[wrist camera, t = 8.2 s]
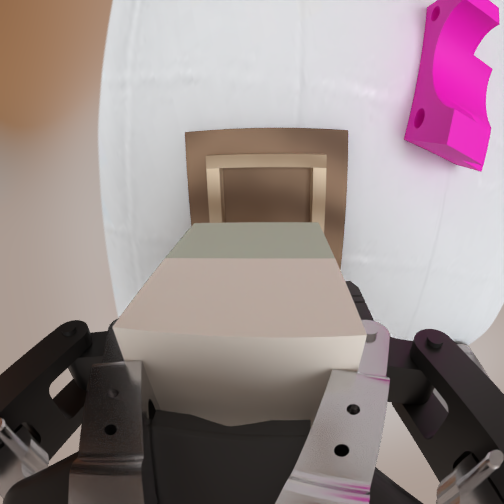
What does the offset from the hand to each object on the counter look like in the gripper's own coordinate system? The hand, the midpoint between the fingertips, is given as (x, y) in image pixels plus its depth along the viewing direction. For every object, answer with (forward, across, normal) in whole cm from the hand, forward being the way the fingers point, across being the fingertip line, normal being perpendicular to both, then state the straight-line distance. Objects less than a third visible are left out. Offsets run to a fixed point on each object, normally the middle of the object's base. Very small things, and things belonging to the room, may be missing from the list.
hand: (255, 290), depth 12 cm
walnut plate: (+14, 0, 0) cm, 14 cm away
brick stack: (+1, 0, 0) cm, 1 cm away
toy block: (+15, -17, -13) cm, 26 cm away
